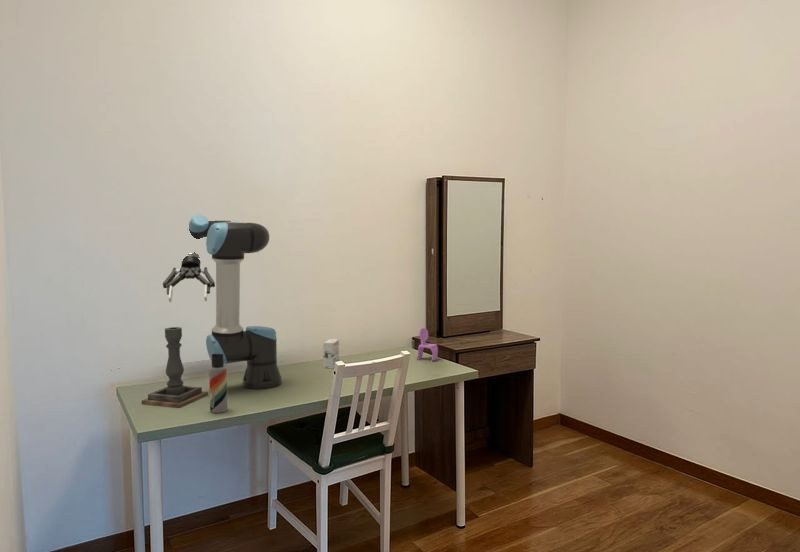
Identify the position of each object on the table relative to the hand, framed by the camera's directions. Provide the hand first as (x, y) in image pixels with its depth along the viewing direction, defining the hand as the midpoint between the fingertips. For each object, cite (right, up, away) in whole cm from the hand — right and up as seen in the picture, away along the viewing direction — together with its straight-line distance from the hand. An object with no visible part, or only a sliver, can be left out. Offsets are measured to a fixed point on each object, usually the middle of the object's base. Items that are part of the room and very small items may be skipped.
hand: (187, 299), depth 226 cm
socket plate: (+4, -36, -22) cm, 42 cm away
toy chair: (+99, -31, +39) cm, 111 cm away
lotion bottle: (+24, -37, -35) cm, 57 cm away
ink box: (+55, -32, +27) cm, 69 cm away
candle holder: (+4, -34, -22) cm, 41 cm away
